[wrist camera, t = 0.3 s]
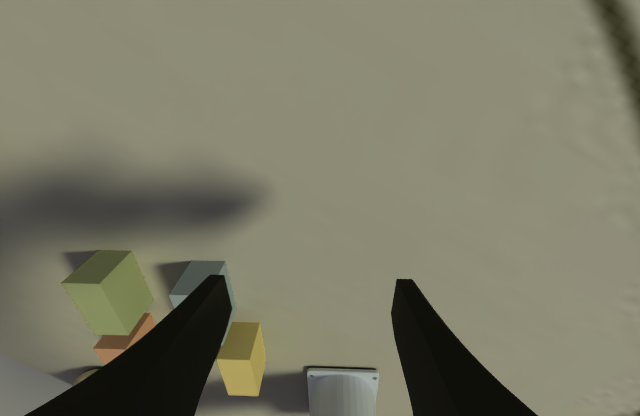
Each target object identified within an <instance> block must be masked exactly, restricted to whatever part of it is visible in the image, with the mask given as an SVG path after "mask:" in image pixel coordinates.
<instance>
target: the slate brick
mask: <svg viewBox="0 0 640 416" xmlns="http://www.w3.org/2000/svg"><path fill="white" fill-rule="evenodd" d="M209 275H224V276H225V280H226V284H227V289H228V293H229V297H230V301H231V305H232V312H231V315H230V319H229V323H228V327H227V330H226V333H225V336H224V338H223V341H222V343H221V346H223V345H224V342H225V339H226V336H227V334H228V331H229V328H230V326H231V323H232V320H233V318H234V315H235V312H236V310H237V307H236V303H235V299H234V295H233V291H232V287H231V283H230V279H229V274H228V270H227V266H226V262H225V261H191V262H190V264H189V265H188V267H187V268H186V270H185V271H184V273H183V274H182V276H181V277H180V279H179V280H178V282H177V283H176V285H175V286H174V288H173V289H172V291H171V292H170V294H169V297H170V299H171V302H172V304H173V307H174V309H175V308H176V307H177V306H178V305H179V304H180V303H181V302H182V301H183V300H184V299H185V298H186V297H187V296H188V295H189V294H190V293H191V292H192V291H193V290H195V289H196V288H197V287H198V286H199V285H200V284H201V283H202V282H203V281H204V280H205V279H206V278H207V277H208V276H209Z"/></svg>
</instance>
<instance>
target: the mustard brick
mask: <svg viewBox="0 0 640 416" xmlns="http://www.w3.org/2000/svg"><path fill="white" fill-rule="evenodd" d="M217 362H218V365H219V368H220V371H221V374H222V377H223V380H224V383H225V386H226V389H227V392H228V395H239V396H258V395H259V391H260V386H261V381H262V377H263V372H264V368H265V363H266V354H265V348H264V343H263V338H262V332H261V327H260V323H247V322H232V323H231V326H230V328H229V331H228V334H227V336H226V339H225V342H224V345H223V346H221V348H220V351H219V354H218V356H217Z"/></svg>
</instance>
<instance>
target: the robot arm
mask: <svg viewBox="0 0 640 416" xmlns="http://www.w3.org/2000/svg"><path fill="white" fill-rule="evenodd" d="M231 312H232V305H231V301H230V297H229V293H228V289H227V284H226V280H225V276H224V275H209V276H208V277H207V278H206V279H205V280H204V281H203V282H202V283H201V284H200V285H199V286H198V287H197V288H196V289H195V290H193V291H192V292H191V293H190V294H189V295H188V296H187V297H186V298H185V299H184V300H183V301H182V302H181V303H180V304H179V305H178V306H177V307H176V308H175V309H174V310H173V311H171V312H170V313H169V314H168V315H167V316H166V317H165V318H164V319H163V320H162V321H160V322H159V323H158V324H157V325H156V326H155V327H154V328H152V329H151V330H150V331H149V332H148V333H147V334H145V335H144V336H143V337H142V338H141V339H139V340H138V341H137V342H136V343H134V344H133V345H132V346H130V347H129V348H128V349H126V350H125V351H124V352H123V353H121V354H120V355H119V356H117V357H116V358H114V359H113V360H112V361H110V362H109V363H107V364H106V365H104V366H103V367H101V368H100V369H99V370H97V371H96V372H94V373H93V374H91V375H90V376H88V377H87V378H85V379H84V380H82V381H81V382H79V383H78V384H76V385H75V386H73V387H72V388H70V389H68V390H67V391H65V392H64V393H62V394H60V395H59V396H57V397H55V398H54V399H52V400H50V401H49V402H47V403H46V404H44V405H42V406H40V407H39V408H37V409H35V410H34V411H32V412H30V413H28V414H26V415H25V416H194V415H195V411H196V408H197V405H198V402H199V399H200V396H201V393H202V390H203V388H204V385H205V383H206V380H207V378H208V375H209V373H210V370H211V368H212V366H213V363H214V361H215V358H216V356H217V353H218V351H219V348H220V346H221V343H222V341H223V338H224V336H225V333H226V330H227V327H228V323H229V319H230V315H231ZM391 316H392V324H393V331H394V337H395V342H396V346H397V350H398V353H399V357H400V361H401V365H402V369H403V373H404V377H405V381H406V384H407V388H408V392H409V396H410V401H411V405H412V410H413V416H538V415H536V414H535V413H534V412H533V411H532V410H531V409H529V408H528V407H527V406H526V405H525V404H524V403H523V402H521V401H520V400H519V399H518V398H517V397H516V396H515V395H513V394H512V393H511V392H510V391H509V390H508V389H507V388H506V387H504V386H503V385H502V384H501V383H500V382H499V381H498V380H497V379H496V378H495V377H494V376H493V375H492V374H491V373H490V372H489V371H488V370H487V369H486V368H485V367H484V366H483V365H482V364H481V363H480V362H479V361H478V360H477V359H476V358H475V357H474V356H473V355H472V354H471V353H470V352H469V351H468V350H467V348H466V347H465V346H464V345H463V344H462V343H461V342H460V341H459V339H458V338H457V337H456V336H455V335H454V334H453V332H452V331H451V330H450V329H449V328H448V326H447V325H446V324H445V323H444V321H443V320H442V319H441V318H440V316H439V315H438V314H437V313H436V311H435V310H434V309H433V307H432V306H431V305H430V303H429V302H428V301H427V299H426V298H425V296H424V295H423V294H422V292H421V291H420V289H419V288H418V286H417V285H416V284H415V282H414V281H413V280H412V279H397V281H396V287H395V293H394V299H393V305H392V311H391ZM307 382H308V395H309V409H310V416H376V410H375V401H376V395H377V388H378V382H379V371H377V370H363V369H334V368H308V369H307Z"/></svg>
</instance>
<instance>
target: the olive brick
mask: <svg viewBox="0 0 640 416" xmlns="http://www.w3.org/2000/svg"><path fill="white" fill-rule="evenodd" d="M61 284H62V286H63V287H64V289H65V290H66V292H67V293H68V295H69V296H70V298H71V299H72V301H73V302H74V304H75V306H76V307H77V309H78V310H79V312H80V313H81V315H82V316H83V318H84V319H85V321H86V322H87V324H88V325H89V327H90V328H91V330H92V332H93V333H94V334H95V335H129V334H130V332H131V331H132V330H133V328H134V327H135V325H136V324H137V323H138V321H139V320H140V318H141V317H142V316H143V314H144V313H145V311H146V310H147V308H148V307H149V306H150V304H151V303H152V301H153V300H154V299H153V297H152V295H151V292H150V290H149V288H148V286H147V283H146V281H145V279H144V277H143V274H142V272H141V270H140V268H139V265H138V263H137V261H136V259H135V256H134V254H133V252H132V251H113V250H98V251H97V252H96V253H95V254H94V255H93V256H91V257H90V258H89V259H88V260H87V261H86V262H84V263H83V264H82V265H81V266H80V267H79V268H78V269H76V270H75V271H74V272H73V273H72V274H71V275H70V276H68V277H67V278H66V279H65V280H64V281H63V282H62V283H61Z"/></svg>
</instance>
